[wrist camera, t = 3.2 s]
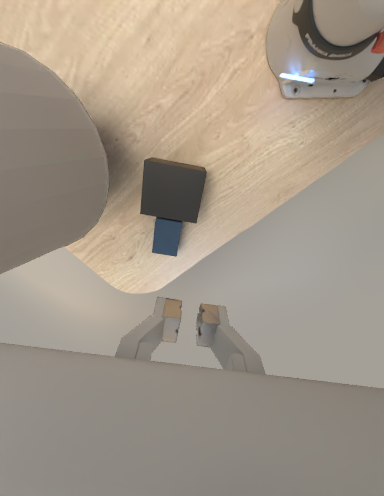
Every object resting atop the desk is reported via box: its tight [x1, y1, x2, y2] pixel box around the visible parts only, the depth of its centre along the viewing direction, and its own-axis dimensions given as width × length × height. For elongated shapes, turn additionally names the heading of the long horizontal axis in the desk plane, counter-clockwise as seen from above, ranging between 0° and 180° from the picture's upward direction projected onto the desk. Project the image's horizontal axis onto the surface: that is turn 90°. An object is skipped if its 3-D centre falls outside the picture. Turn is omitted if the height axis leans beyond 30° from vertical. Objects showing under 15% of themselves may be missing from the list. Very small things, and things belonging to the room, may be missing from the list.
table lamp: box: [0, 42, 110, 274], centre depth 31 cm, size 27×27×40 cm
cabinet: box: [140, 158, 207, 223], centre depth 48 cm, size 12×11×8 cm
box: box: [152, 217, 182, 256], centre depth 54 cm, size 6×9×6 cm
